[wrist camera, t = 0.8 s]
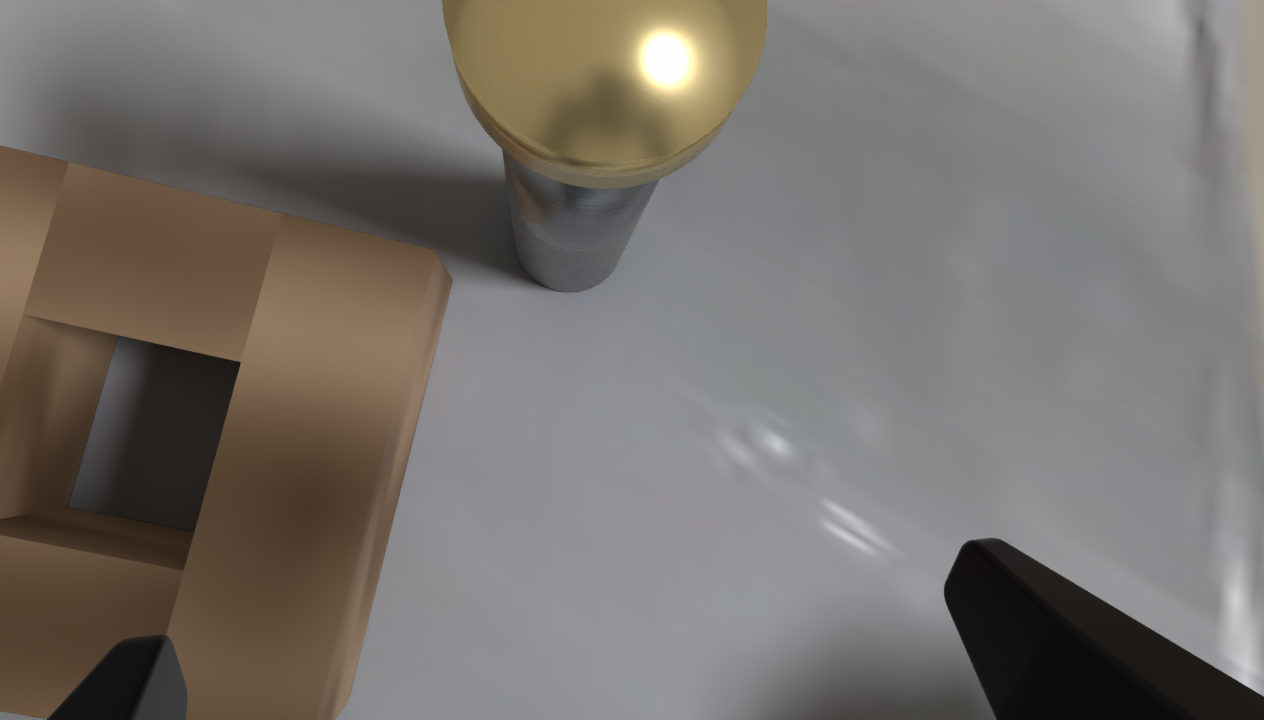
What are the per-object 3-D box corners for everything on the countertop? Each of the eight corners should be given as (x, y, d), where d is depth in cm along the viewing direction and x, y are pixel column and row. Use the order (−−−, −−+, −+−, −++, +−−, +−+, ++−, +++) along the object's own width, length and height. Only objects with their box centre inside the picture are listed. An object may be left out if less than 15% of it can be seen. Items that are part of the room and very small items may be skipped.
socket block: (348, 699, 21) (305, 763, 17) (-117, 615, 20) (-278, 663, 16) (452, 280, 23) (434, 249, 19) (20, 177, 21) (-99, 121, 17)
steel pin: (622, 323, 23) (732, 196, 10) (482, 290, 23) (405, 113, 10) (652, 189, 23) (795, -101, 10) (515, 154, 23) (485, -194, 10)
